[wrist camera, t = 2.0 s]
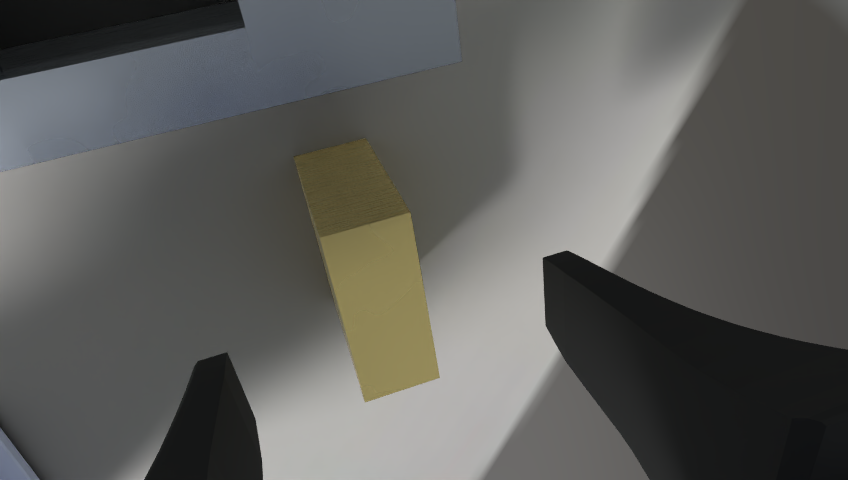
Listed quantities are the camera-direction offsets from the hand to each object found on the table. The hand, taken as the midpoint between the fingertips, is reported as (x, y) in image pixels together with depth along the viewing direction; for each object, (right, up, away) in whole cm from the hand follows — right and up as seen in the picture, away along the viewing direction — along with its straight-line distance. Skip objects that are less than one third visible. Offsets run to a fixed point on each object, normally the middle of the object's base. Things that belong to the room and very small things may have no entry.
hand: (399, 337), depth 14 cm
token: (-2, +3, +4) cm, 5 cm away
